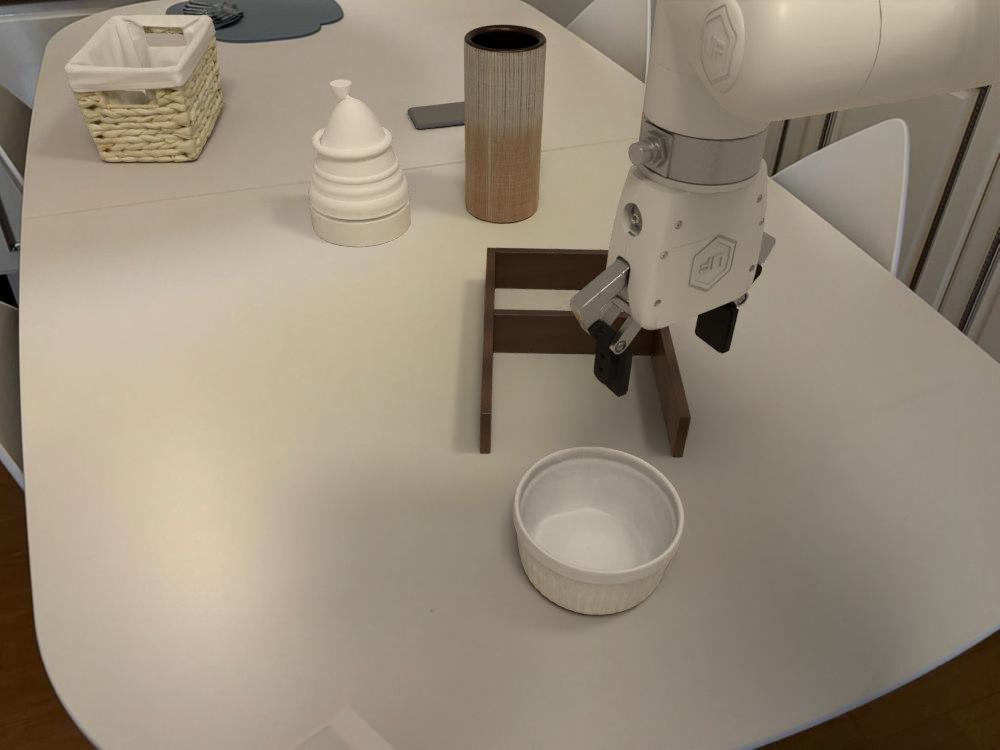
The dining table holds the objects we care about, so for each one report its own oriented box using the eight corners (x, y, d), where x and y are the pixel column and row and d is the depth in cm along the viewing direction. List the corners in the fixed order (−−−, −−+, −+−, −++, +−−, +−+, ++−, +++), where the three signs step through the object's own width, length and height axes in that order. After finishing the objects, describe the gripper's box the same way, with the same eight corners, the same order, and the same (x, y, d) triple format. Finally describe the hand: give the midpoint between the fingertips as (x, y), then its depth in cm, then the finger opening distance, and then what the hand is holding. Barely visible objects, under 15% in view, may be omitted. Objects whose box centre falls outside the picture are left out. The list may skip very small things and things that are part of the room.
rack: (682, 457, 80) (691, 417, 77) (479, 453, 80) (480, 413, 77) (644, 286, 102) (650, 250, 99) (486, 283, 102) (486, 247, 99)
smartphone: (406, 107, 141) (493, 97, 145) (407, 113, 142) (493, 103, 145) (416, 125, 136) (506, 114, 139) (417, 131, 136) (506, 120, 140)
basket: (201, 167, 125) (179, 66, 116) (87, 168, 124) (56, 66, 115) (232, 104, 143) (215, 13, 134) (134, 104, 143) (110, 12, 133)
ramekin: (702, 557, 71) (717, 500, 66) (609, 663, 63) (619, 606, 59) (575, 479, 77) (581, 422, 73) (477, 566, 70) (477, 508, 65)
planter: (551, 215, 116) (561, 44, 101) (484, 230, 112) (485, 55, 98) (517, 184, 123) (523, 20, 108) (453, 197, 119) (450, 29, 105)
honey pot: (294, 218, 114) (274, 84, 102) (374, 190, 120) (364, 61, 109) (347, 257, 106) (332, 118, 95) (430, 225, 113) (425, 91, 101)
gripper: (627, 203, 46) (599, 435, 57) (845, 137, 53) (783, 354, 64) (549, 151, 51) (536, 374, 62) (758, 97, 58) (713, 305, 69)
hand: (662, 363), depth 63 cm, fingers open, 9 cm apart
